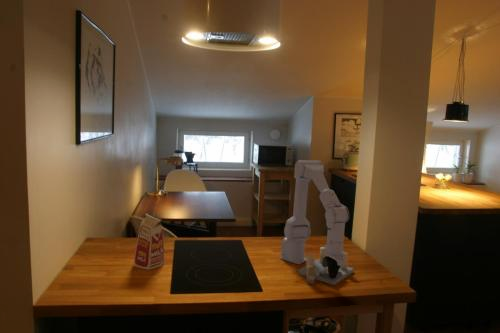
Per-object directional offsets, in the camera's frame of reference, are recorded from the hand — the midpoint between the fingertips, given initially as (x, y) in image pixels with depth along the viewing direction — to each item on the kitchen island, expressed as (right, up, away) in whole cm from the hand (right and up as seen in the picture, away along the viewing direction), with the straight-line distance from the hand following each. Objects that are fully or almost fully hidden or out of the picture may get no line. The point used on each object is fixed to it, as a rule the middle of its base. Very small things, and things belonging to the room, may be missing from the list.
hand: (332, 277), depth 130 cm
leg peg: (-7, -3, +4) cm, 9 cm away
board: (+1, -2, +14) cm, 14 cm away
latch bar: (+2, 0, +8) cm, 8 cm away
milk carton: (-68, +1, +14) cm, 70 cm away
